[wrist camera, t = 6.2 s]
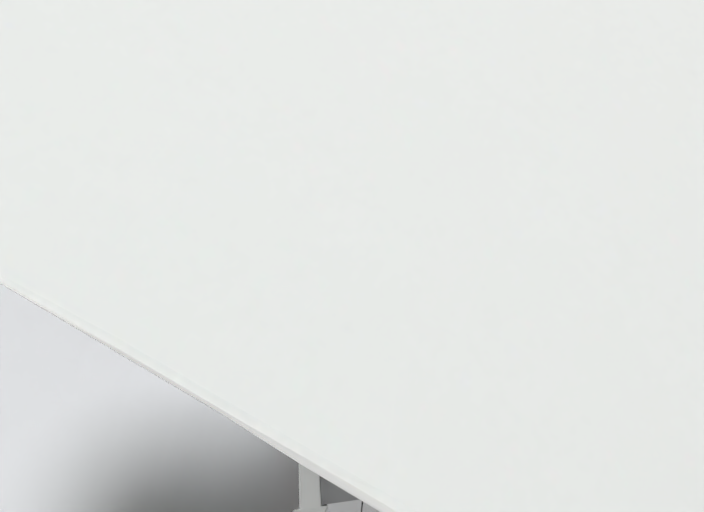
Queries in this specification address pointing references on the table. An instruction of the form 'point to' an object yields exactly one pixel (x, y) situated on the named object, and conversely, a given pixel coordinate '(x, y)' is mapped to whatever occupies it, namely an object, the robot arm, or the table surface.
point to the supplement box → (383, 231)
